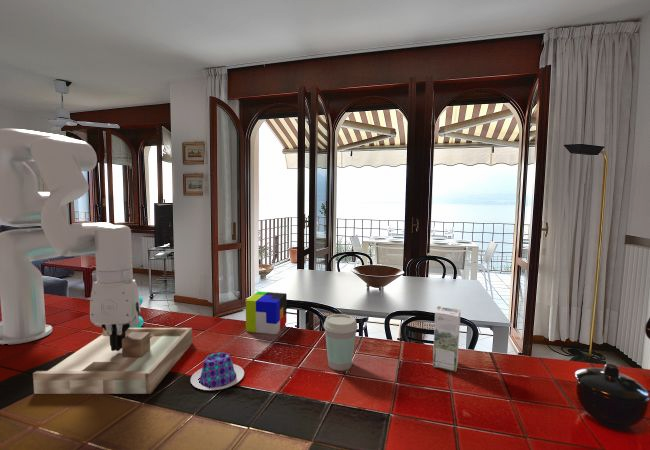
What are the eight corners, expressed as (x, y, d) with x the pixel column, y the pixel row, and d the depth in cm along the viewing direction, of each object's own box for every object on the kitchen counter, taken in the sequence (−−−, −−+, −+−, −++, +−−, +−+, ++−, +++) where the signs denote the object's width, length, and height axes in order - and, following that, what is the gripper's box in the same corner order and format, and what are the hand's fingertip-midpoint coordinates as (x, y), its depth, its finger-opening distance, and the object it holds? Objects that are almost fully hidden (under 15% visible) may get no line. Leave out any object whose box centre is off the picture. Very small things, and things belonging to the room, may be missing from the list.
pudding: (234, 361, 89) (233, 342, 89) (252, 382, 80) (252, 360, 79) (185, 374, 83) (184, 353, 82) (198, 399, 73) (197, 376, 72)
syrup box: (458, 362, 90) (460, 308, 89) (456, 373, 85) (459, 315, 83) (435, 357, 92) (437, 304, 91) (432, 367, 87) (434, 311, 86)
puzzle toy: (276, 334, 106) (276, 302, 105) (245, 331, 108) (245, 300, 107) (286, 322, 116) (286, 293, 115) (258, 320, 118) (258, 291, 117)
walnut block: (122, 357, 84) (121, 339, 83) (132, 349, 88) (131, 332, 88) (141, 357, 84) (140, 339, 84) (150, 349, 88) (149, 332, 88)
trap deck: (34, 393, 74) (32, 373, 73) (105, 342, 99) (104, 327, 98) (150, 393, 74) (150, 373, 74) (192, 343, 99) (192, 327, 99)
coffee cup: (363, 364, 88) (364, 319, 87) (341, 377, 82) (342, 328, 81) (338, 353, 94) (338, 310, 93) (316, 365, 88) (316, 319, 86)
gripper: (73, 279, 80) (77, 355, 82) (138, 280, 81) (140, 355, 82) (93, 272, 88) (97, 341, 90) (153, 272, 88) (155, 342, 90)
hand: (118, 348), depth 86 cm, fingers closed
